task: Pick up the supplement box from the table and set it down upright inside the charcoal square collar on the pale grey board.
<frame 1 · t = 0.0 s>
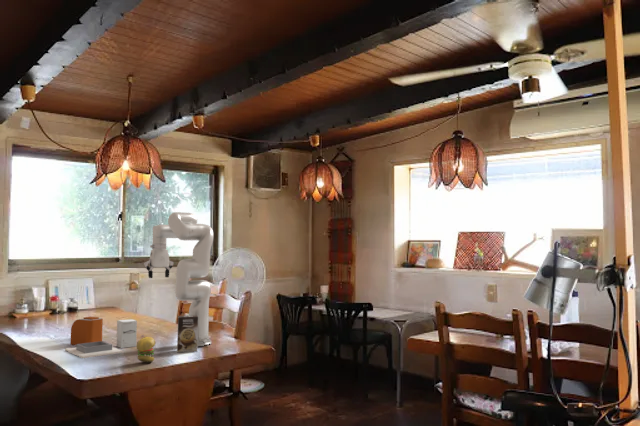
hand: (158, 277, 290), 31 cm above the table, tool pointing down, fingers open, 9 cm apart
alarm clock: (87, 344, 257), on the table
coffee box: (187, 351, 239), on the table
dock board: (94, 351, 239), on the table
supplement box: (126, 346, 251), on the table
hamburger: (145, 363, 214), on the table
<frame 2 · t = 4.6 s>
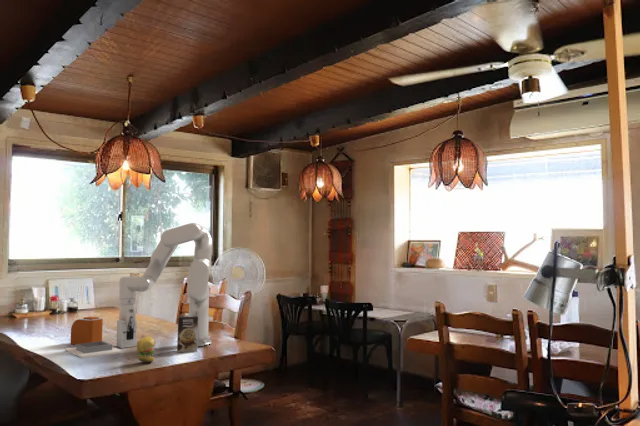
hand: (126, 338, 251), 4 cm above the table, tool pointing down, fingers closed on supplement box, 7 cm apart
supplement box: (126, 346, 251), on the table, touching gripper
everything else where it was.
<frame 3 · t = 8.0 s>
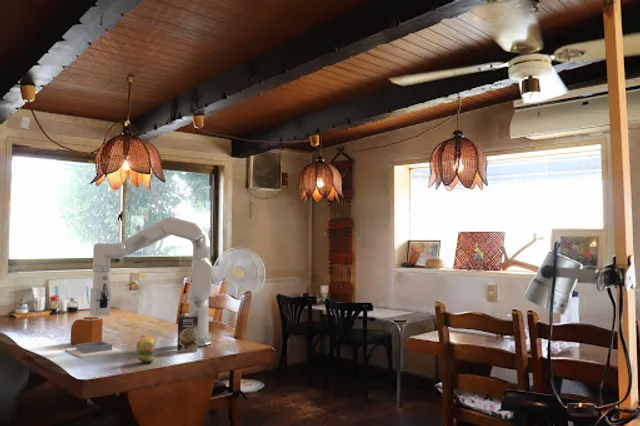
hand: (100, 306, 242), 20 cm above the table, tool pointing down, fingers closed on supplement box, 7 cm apart
supplement box: (100, 315, 242), point 16 cm above the table, touching gripper
everything else where it was.
when the fingers open (6 cm above the table, at t = 11.5 s): supplement box stays where it is, resting on dock board.
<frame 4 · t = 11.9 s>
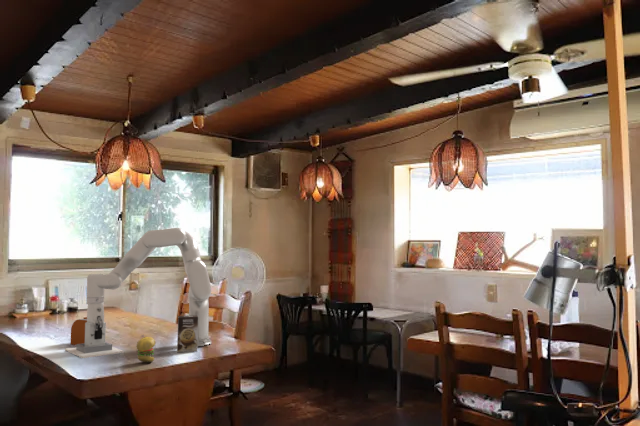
hand: (94, 337, 239), 6 cm above the table, tool pointing down, fingers open, 9 cm apart
supplement box: (94, 350, 239), point 1 cm above the table, touching dock board
everything else where it was.
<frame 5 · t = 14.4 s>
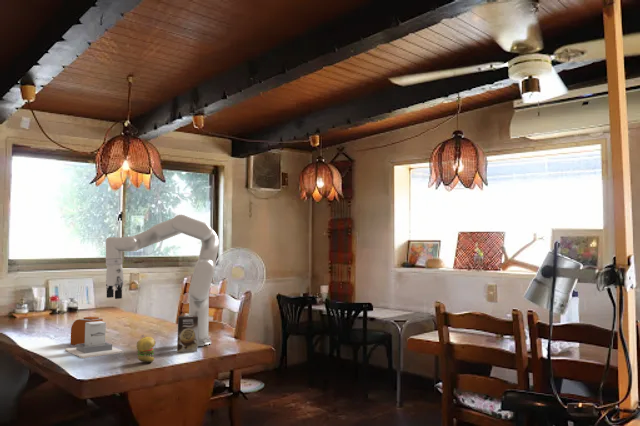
hand: (114, 298, 249), 24 cm above the table, tool pointing down, fingers open, 9 cm apart
nothing on the table moved.
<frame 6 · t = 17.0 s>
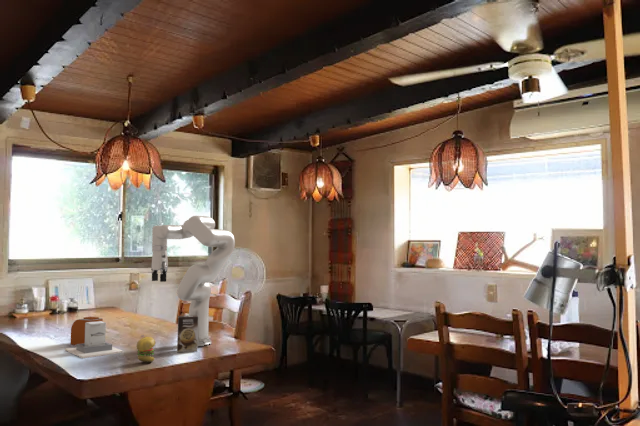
hand: (158, 281, 272), 30 cm above the table, tool pointing down, fingers open, 9 cm apart
nothing on the table moved.
at the end: supplement box 0.4 cm off-centre on the dock board, point 0.6 cm above the dock board's base; supplement box tilted 0°; the gripper is holding nothing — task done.
